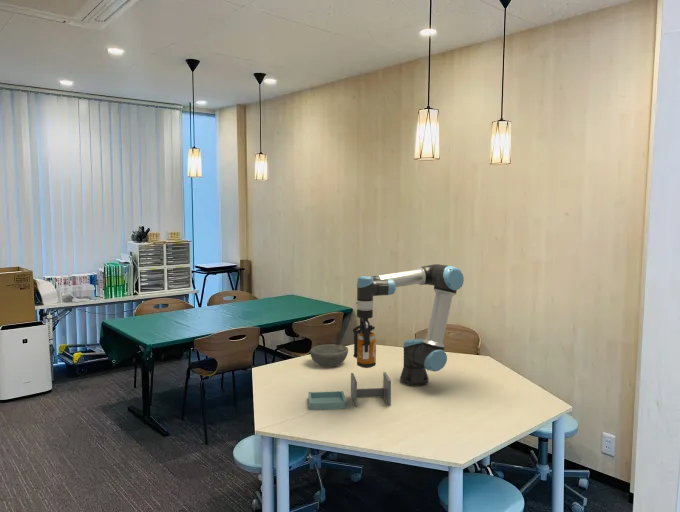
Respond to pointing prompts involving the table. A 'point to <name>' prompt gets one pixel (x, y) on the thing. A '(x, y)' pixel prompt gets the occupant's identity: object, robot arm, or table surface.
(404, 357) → the robot arm
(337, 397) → the tray
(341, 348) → the bowl
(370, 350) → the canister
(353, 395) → the dock
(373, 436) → the table surface
